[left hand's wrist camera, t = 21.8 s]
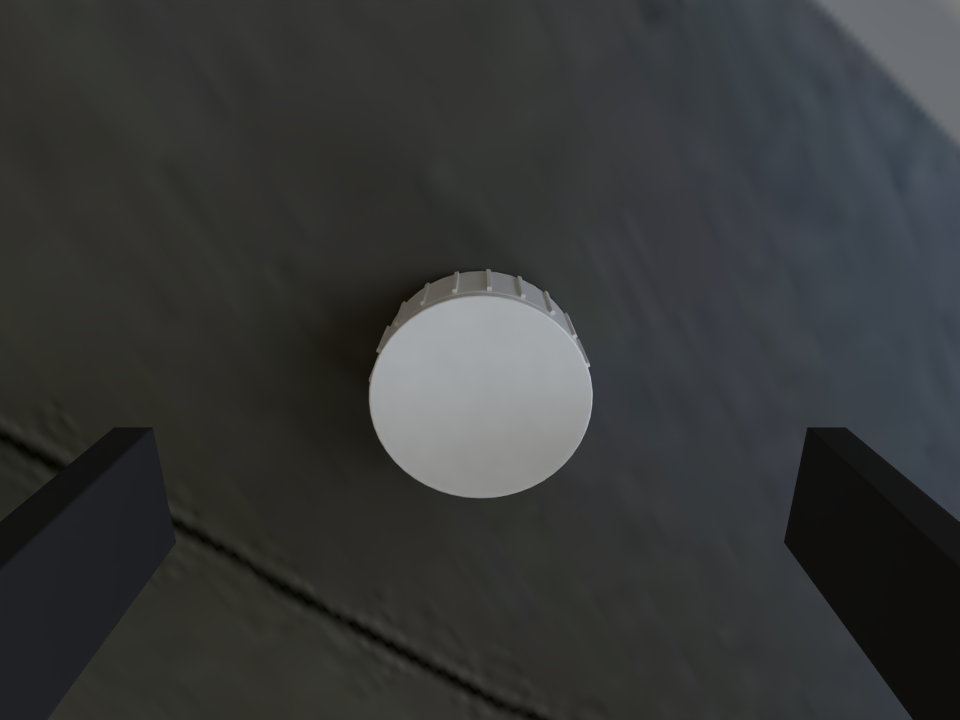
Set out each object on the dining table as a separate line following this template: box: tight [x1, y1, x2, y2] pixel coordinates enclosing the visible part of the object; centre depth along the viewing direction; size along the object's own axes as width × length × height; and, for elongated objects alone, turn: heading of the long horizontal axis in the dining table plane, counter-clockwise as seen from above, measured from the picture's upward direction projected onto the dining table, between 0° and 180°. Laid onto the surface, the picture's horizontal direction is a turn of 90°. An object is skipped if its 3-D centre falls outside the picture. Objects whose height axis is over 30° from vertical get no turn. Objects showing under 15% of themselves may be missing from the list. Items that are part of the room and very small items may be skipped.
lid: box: [369, 269, 593, 498], centre depth 16 cm, size 5×5×2 cm
